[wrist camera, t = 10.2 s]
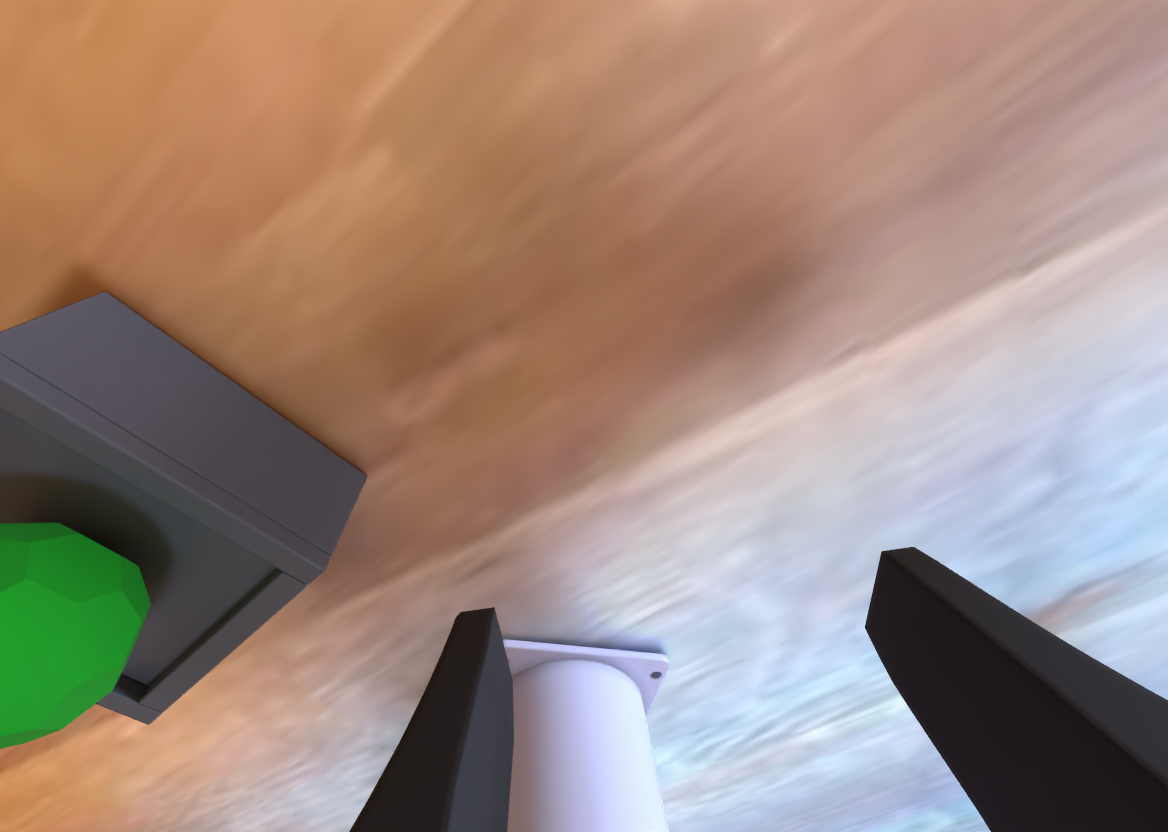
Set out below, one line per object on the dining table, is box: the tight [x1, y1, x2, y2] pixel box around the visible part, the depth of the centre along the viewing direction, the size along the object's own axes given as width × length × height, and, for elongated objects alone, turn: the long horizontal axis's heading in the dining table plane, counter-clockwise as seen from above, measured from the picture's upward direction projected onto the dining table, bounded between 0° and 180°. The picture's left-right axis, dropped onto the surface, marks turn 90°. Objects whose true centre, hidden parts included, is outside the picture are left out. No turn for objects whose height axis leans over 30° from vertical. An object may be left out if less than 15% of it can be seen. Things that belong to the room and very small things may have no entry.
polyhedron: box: [0, 523, 151, 749], centre depth 13 cm, size 5×5×5 cm
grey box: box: [0, 292, 367, 724], centre depth 16 cm, size 9×9×5 cm
